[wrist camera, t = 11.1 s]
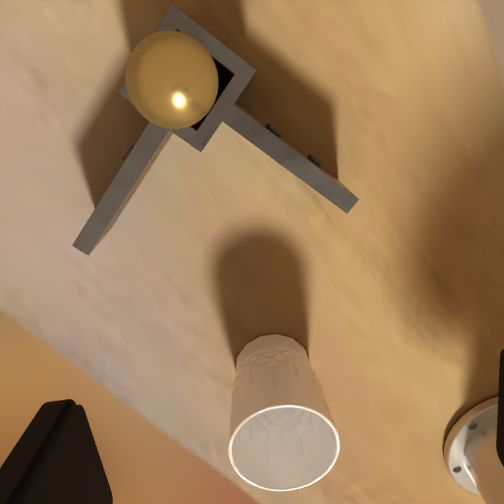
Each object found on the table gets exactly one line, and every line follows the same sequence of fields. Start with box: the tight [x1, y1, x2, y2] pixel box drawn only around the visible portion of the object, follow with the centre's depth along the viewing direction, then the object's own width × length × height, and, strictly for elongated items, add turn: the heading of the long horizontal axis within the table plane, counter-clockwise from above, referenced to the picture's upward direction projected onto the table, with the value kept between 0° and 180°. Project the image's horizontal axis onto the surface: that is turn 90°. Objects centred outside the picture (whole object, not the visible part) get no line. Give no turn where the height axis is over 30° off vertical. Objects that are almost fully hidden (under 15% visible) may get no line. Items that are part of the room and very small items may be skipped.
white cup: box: [228, 334, 340, 491], centre depth 36 cm, size 8×8×10 cm
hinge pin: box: [125, 31, 218, 129], centre depth 25 cm, size 4×4×13 cm
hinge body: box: [72, 4, 359, 255], centre depth 31 cm, size 16×16×6 cm
